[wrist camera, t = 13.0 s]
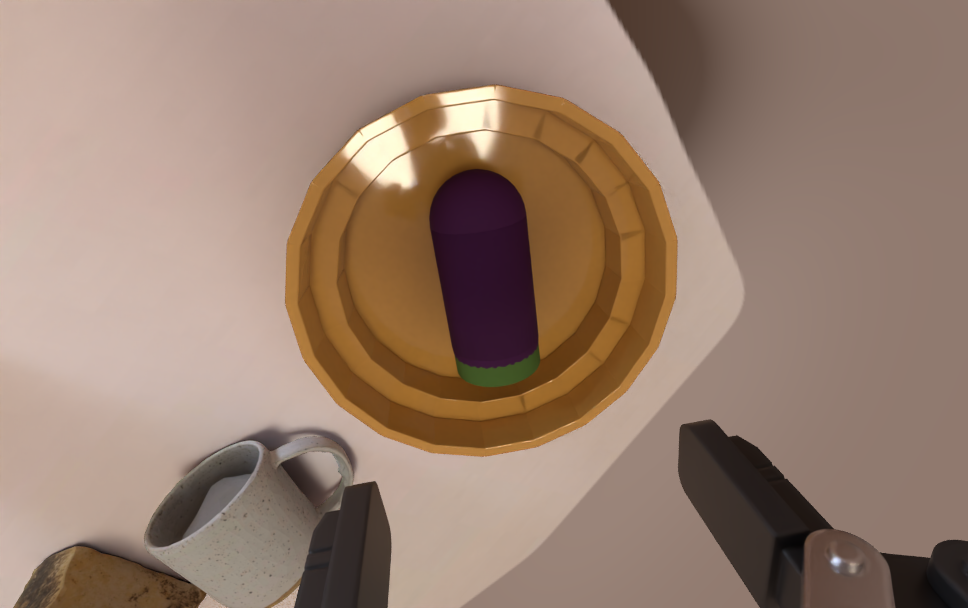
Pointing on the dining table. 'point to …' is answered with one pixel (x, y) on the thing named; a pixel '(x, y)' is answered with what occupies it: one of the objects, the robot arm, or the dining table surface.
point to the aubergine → (486, 277)
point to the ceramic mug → (243, 522)
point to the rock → (103, 584)
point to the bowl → (416, 285)
